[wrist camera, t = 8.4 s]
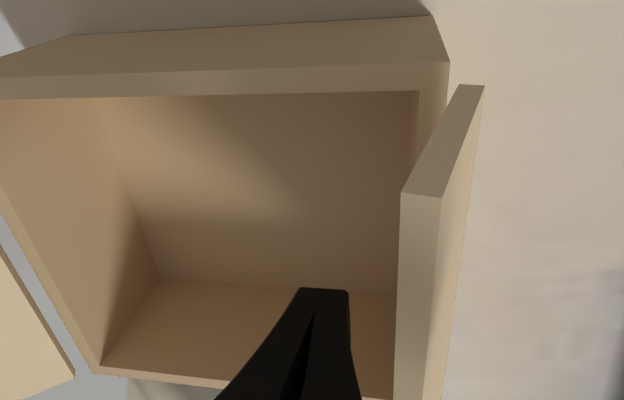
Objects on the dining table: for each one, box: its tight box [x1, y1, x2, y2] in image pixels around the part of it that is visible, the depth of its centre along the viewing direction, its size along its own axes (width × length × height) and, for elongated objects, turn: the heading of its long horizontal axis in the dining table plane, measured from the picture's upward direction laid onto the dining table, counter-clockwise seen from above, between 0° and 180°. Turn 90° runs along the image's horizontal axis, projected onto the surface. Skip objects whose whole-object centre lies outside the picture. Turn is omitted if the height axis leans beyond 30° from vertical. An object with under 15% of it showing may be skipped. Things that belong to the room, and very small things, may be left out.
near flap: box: [393, 84, 485, 400], centre depth 10 cm, size 12×4×1 cm
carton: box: [0, 15, 450, 400], centre depth 16 cm, size 13×14×6 cm
